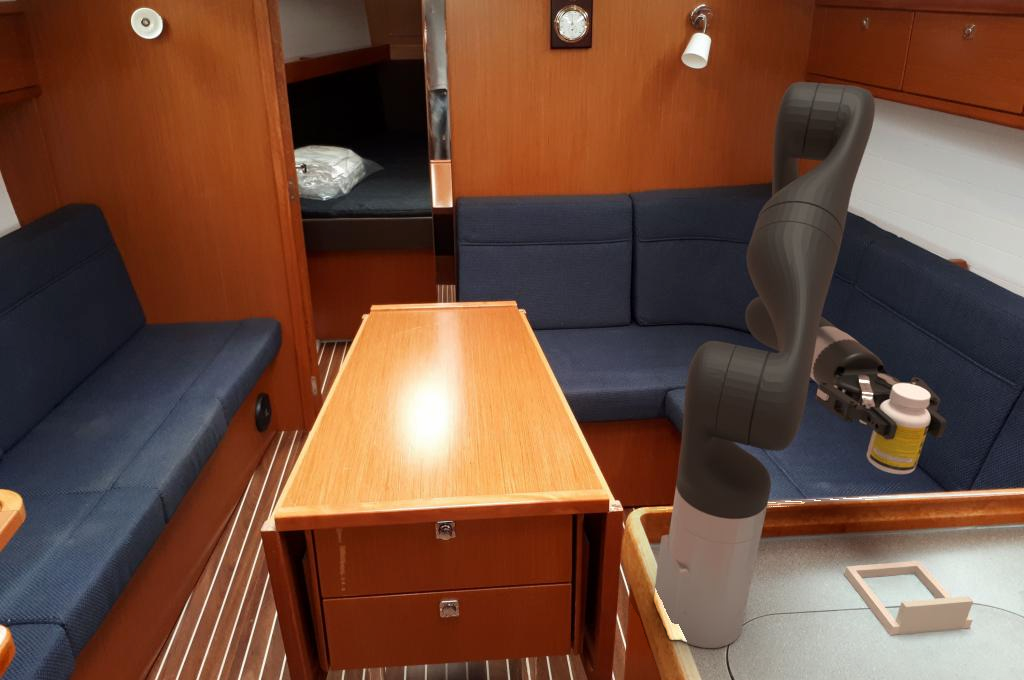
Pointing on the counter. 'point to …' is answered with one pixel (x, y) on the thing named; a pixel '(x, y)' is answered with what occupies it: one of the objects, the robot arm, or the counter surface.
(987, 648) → the counter surface
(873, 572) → the beige open frame
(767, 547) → the counter surface
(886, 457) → the supplement bottle
